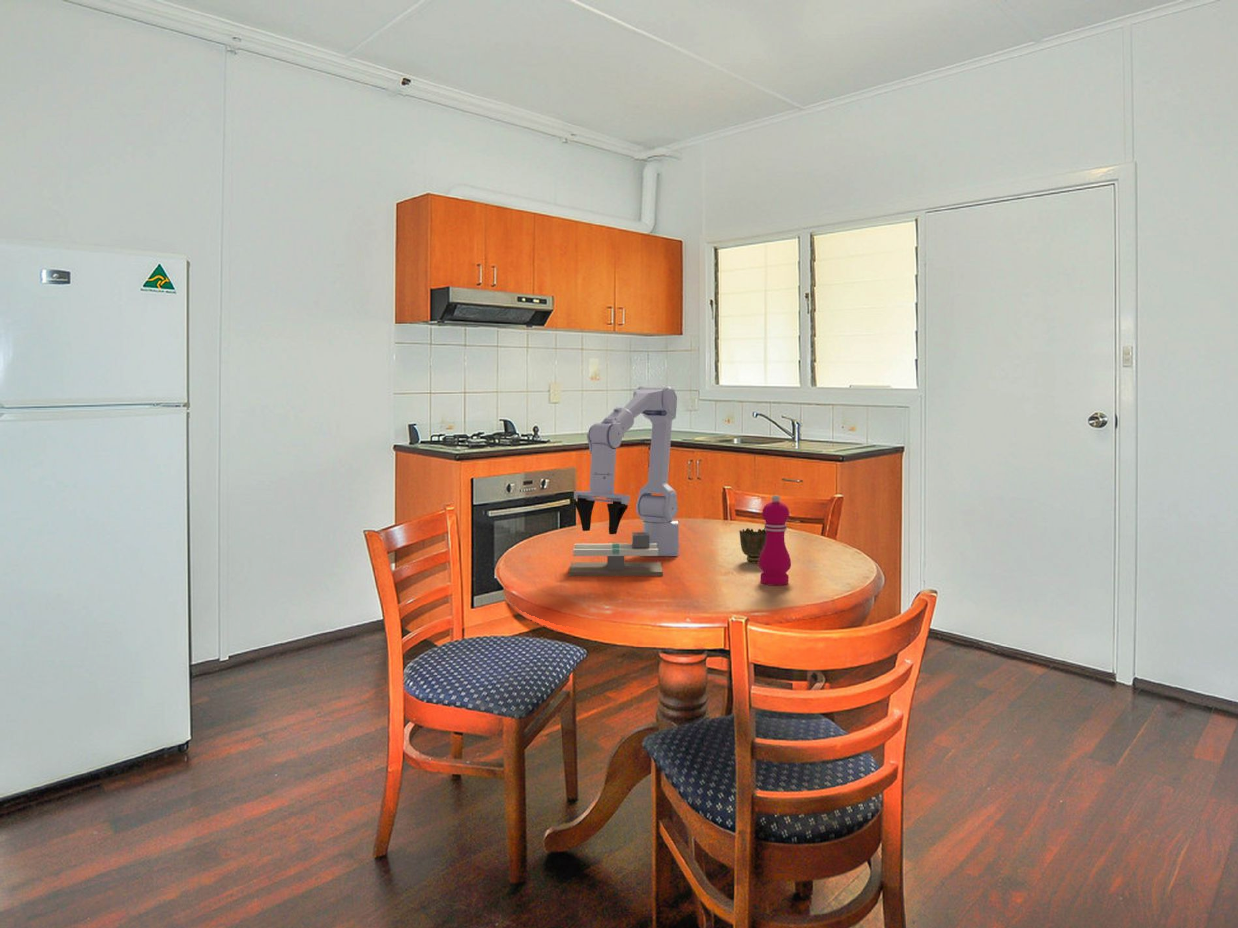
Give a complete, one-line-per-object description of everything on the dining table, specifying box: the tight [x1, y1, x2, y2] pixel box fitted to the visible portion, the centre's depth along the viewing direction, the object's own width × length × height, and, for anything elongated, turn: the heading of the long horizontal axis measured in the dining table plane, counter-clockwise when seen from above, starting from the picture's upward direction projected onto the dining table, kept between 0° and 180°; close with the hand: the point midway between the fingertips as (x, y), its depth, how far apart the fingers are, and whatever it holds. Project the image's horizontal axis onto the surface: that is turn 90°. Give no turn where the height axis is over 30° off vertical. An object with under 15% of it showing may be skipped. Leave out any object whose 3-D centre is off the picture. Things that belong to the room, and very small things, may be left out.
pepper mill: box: [758, 494, 792, 586], centre depth 177 cm, size 7×7×20 cm
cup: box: [739, 527, 766, 564], centre depth 197 cm, size 8×7×8 cm
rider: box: [631, 531, 649, 549], centre depth 188 cm, size 4×4×4 cm
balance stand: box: [568, 542, 664, 577], centre depth 188 cm, size 22×10×6 cm, turn 91°
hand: (599, 532), depth 183 cm, fingers open, 7 cm apart
